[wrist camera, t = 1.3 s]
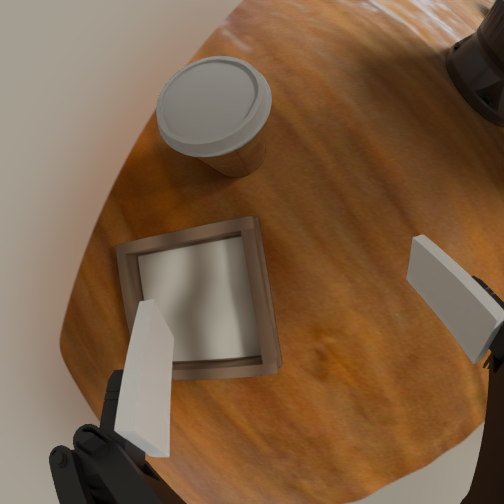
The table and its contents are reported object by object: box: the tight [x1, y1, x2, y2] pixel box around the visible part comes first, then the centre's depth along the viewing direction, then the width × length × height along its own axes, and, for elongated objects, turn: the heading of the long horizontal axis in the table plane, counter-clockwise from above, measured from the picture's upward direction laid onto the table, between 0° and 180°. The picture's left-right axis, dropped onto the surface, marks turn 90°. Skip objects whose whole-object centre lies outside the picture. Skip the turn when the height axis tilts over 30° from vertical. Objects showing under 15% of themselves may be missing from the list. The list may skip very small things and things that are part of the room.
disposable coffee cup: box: [156, 56, 272, 177], centre depth 25 cm, size 10×10×12 cm
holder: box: [116, 216, 282, 380], centre depth 29 cm, size 16×16×4 cm
